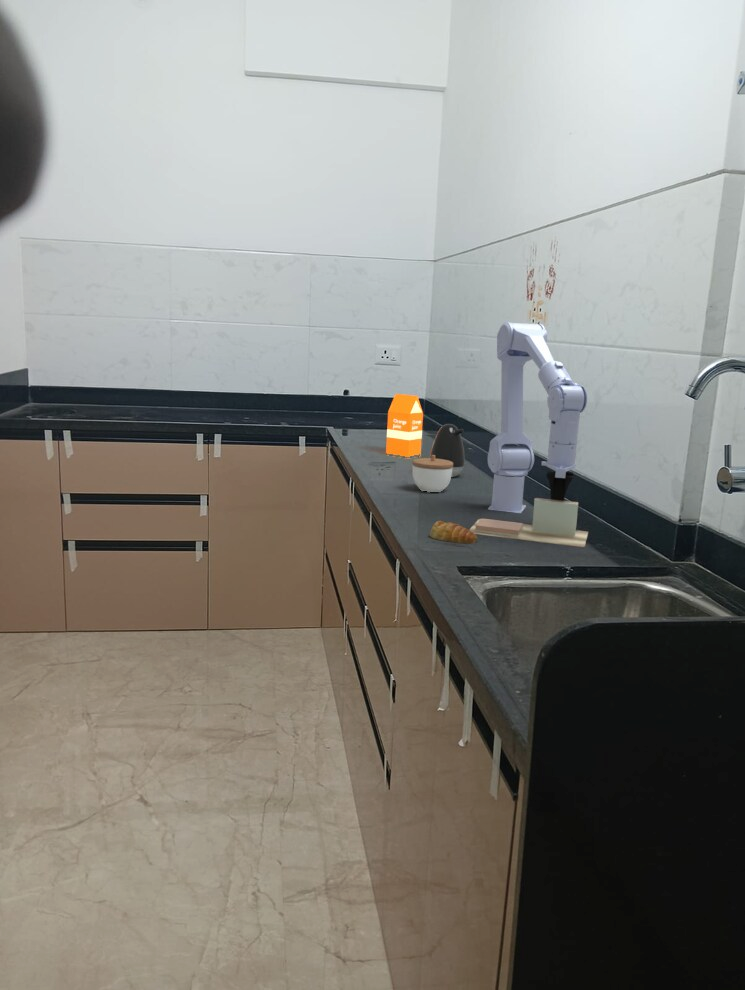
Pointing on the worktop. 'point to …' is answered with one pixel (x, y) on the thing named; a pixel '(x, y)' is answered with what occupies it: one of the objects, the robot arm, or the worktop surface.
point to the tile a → (499, 527)
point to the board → (543, 536)
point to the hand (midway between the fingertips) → (556, 505)
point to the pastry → (452, 533)
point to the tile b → (555, 516)
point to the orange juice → (404, 426)
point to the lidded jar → (432, 473)
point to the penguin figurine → (449, 447)
